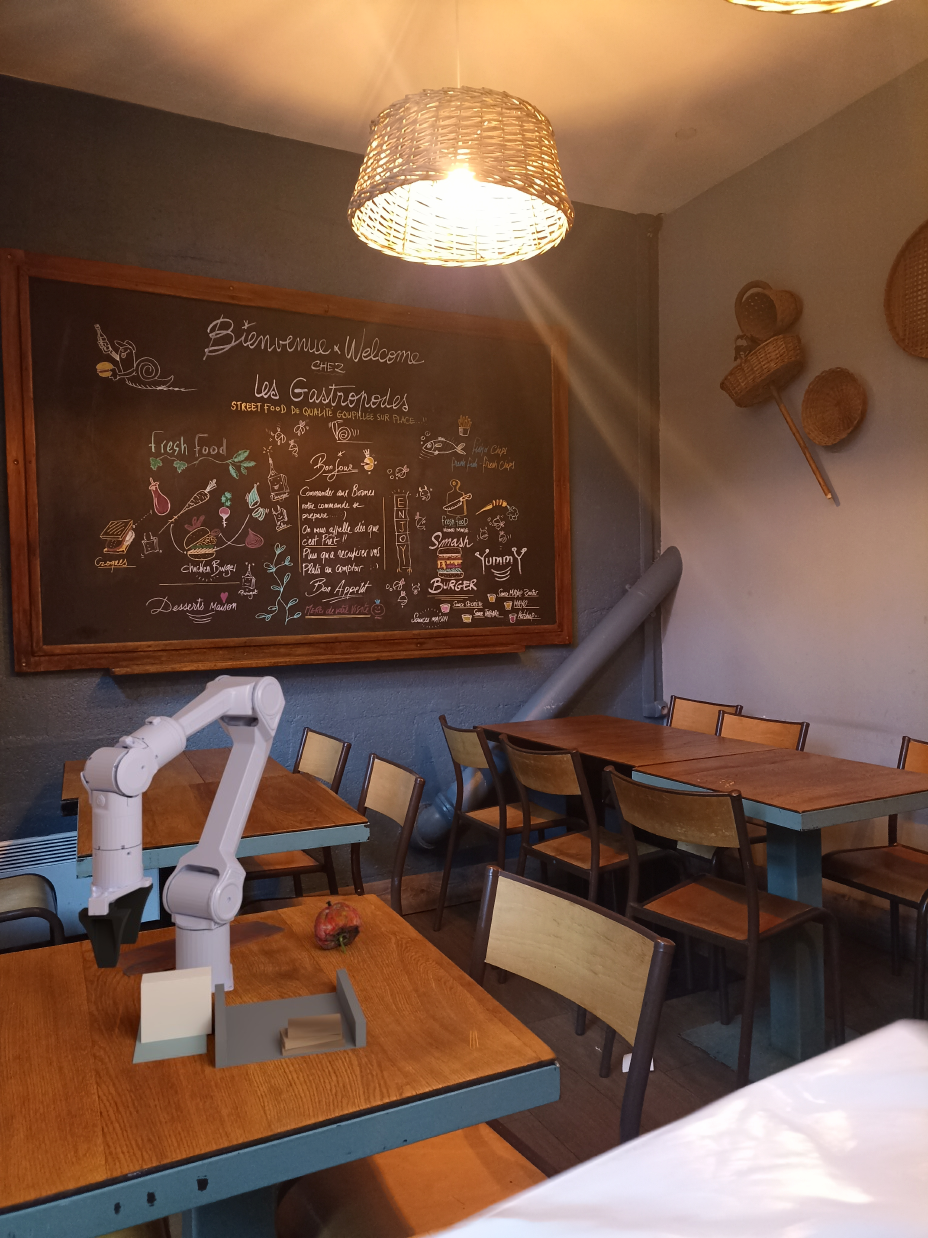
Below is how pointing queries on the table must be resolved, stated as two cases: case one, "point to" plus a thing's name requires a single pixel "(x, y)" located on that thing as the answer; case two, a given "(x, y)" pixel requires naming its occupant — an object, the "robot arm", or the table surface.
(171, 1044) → the mat
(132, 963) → the wooden tablet
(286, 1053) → the offcut stack
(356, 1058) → the table surface
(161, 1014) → the white rectangular block
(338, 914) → the rotten apple
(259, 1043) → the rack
